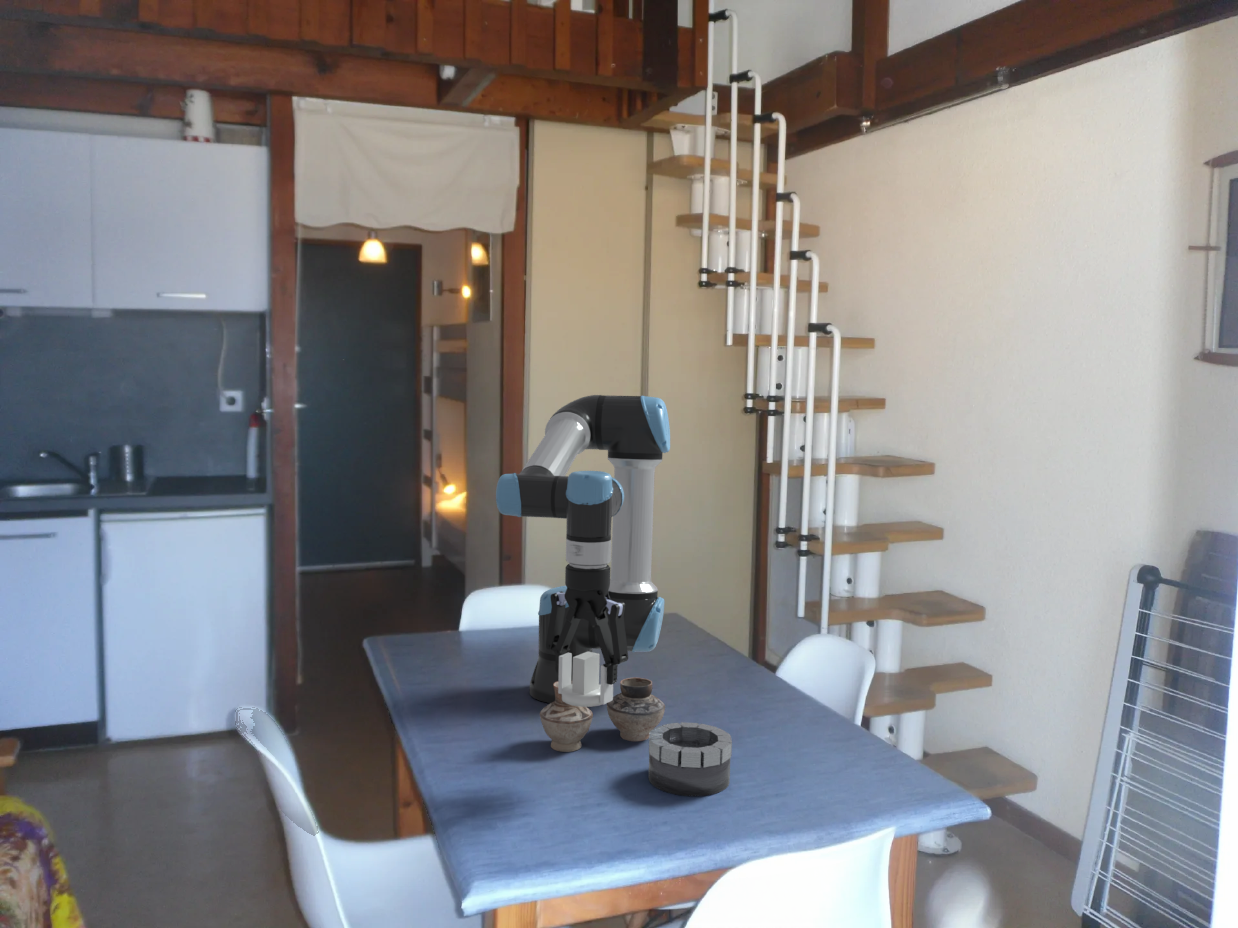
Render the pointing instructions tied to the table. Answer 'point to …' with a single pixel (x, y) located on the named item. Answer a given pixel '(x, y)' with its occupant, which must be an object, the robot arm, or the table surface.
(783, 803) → the table surface
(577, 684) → the cap
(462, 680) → the table surface
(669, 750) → the toothed ring drum
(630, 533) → the robot arm
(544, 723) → the pottery
